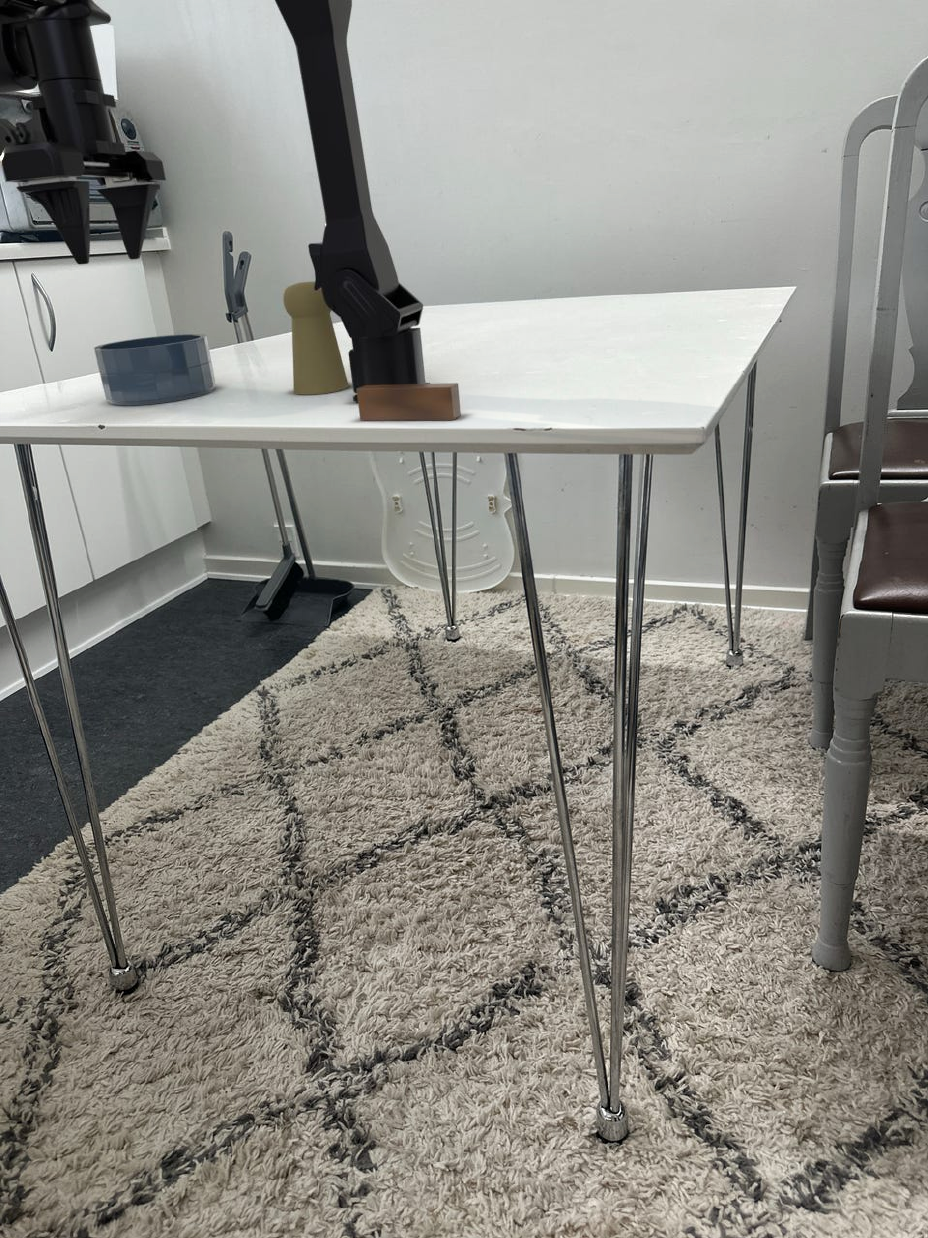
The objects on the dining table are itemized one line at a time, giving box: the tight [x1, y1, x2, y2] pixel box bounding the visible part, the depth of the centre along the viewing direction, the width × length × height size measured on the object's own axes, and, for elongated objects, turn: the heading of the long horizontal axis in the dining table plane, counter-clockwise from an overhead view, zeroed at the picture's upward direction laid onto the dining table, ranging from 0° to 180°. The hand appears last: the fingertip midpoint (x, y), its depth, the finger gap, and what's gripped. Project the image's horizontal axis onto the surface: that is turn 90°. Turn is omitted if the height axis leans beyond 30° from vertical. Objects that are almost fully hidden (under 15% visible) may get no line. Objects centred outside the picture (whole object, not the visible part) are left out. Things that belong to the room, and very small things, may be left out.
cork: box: [282, 281, 350, 396], centre depth 95 cm, size 6×6×11 cm
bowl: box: [93, 333, 217, 407], centre depth 102 cm, size 12×12×6 cm
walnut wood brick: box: [356, 382, 462, 421], centre depth 78 cm, size 9×2×3 cm, turn 70°
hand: (110, 261), depth 90 cm, fingers open, 9 cm apart
